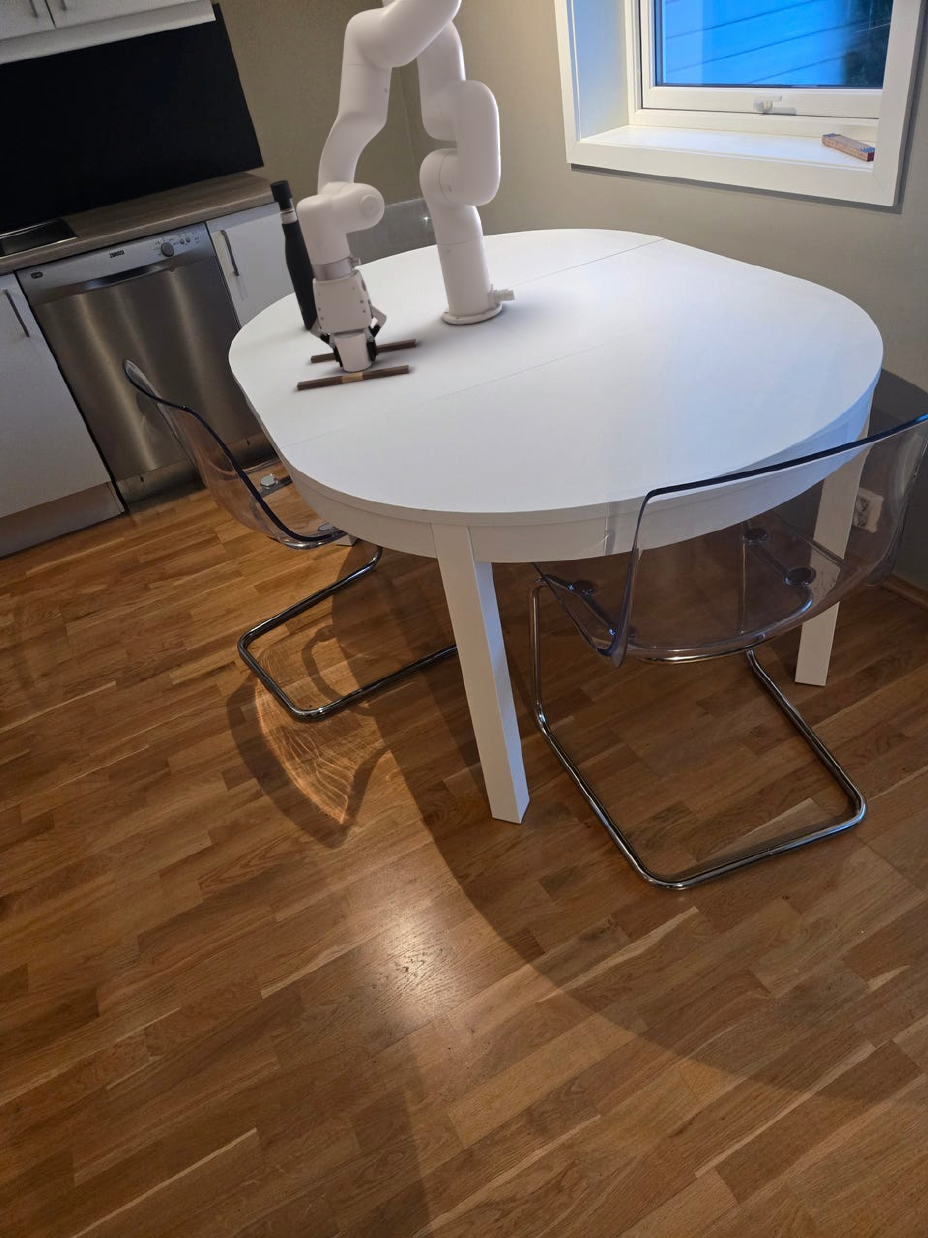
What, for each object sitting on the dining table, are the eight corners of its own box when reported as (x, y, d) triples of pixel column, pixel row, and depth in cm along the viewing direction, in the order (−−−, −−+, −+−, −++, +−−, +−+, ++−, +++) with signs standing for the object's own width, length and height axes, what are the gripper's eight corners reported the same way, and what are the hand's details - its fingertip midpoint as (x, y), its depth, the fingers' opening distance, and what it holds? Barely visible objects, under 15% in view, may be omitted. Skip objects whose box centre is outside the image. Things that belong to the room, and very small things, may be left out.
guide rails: (416, 343, 177) (415, 338, 177) (408, 372, 165) (407, 367, 165) (313, 360, 180) (311, 355, 180) (298, 390, 169) (296, 385, 168)
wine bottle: (338, 319, 199) (299, 176, 182) (323, 330, 195) (282, 185, 177) (315, 319, 202) (275, 179, 184) (300, 330, 198) (257, 188, 180)
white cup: (368, 372, 169) (360, 336, 165) (335, 373, 171) (327, 338, 167) (379, 357, 174) (372, 323, 170) (347, 359, 176) (339, 325, 172)
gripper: (380, 254, 163) (402, 347, 174) (293, 270, 166) (320, 361, 177) (375, 266, 157) (398, 362, 168) (285, 282, 160) (313, 376, 171)
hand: (358, 361), depth 172 cm, fingers closed on white cup, 5 cm apart
